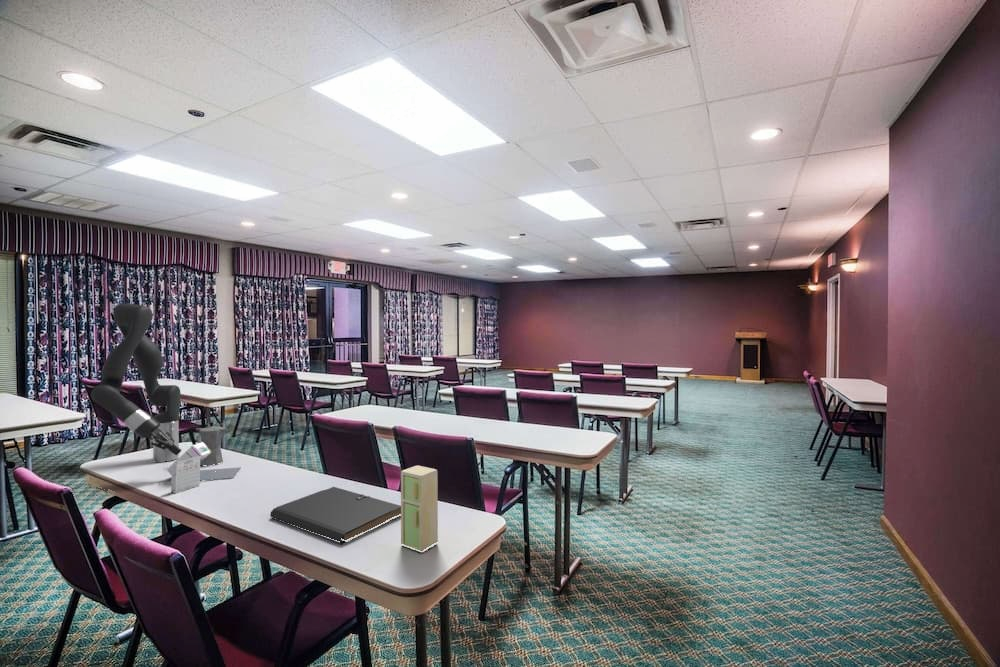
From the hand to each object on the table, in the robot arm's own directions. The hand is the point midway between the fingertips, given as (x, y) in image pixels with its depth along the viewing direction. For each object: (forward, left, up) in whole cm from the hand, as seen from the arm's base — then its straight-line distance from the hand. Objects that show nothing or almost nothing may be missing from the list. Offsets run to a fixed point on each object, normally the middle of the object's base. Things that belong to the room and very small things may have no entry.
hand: (179, 452), depth 183 cm
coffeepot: (-20, +2, -10) cm, 22 cm away
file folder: (+47, +69, -11) cm, 84 cm away
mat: (-2, +11, -10) cm, 15 cm away
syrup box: (0, -1, -8) cm, 8 cm away
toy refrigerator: (+70, +94, -10) cm, 118 cm away
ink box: (+14, +9, -10) cm, 20 cm away
